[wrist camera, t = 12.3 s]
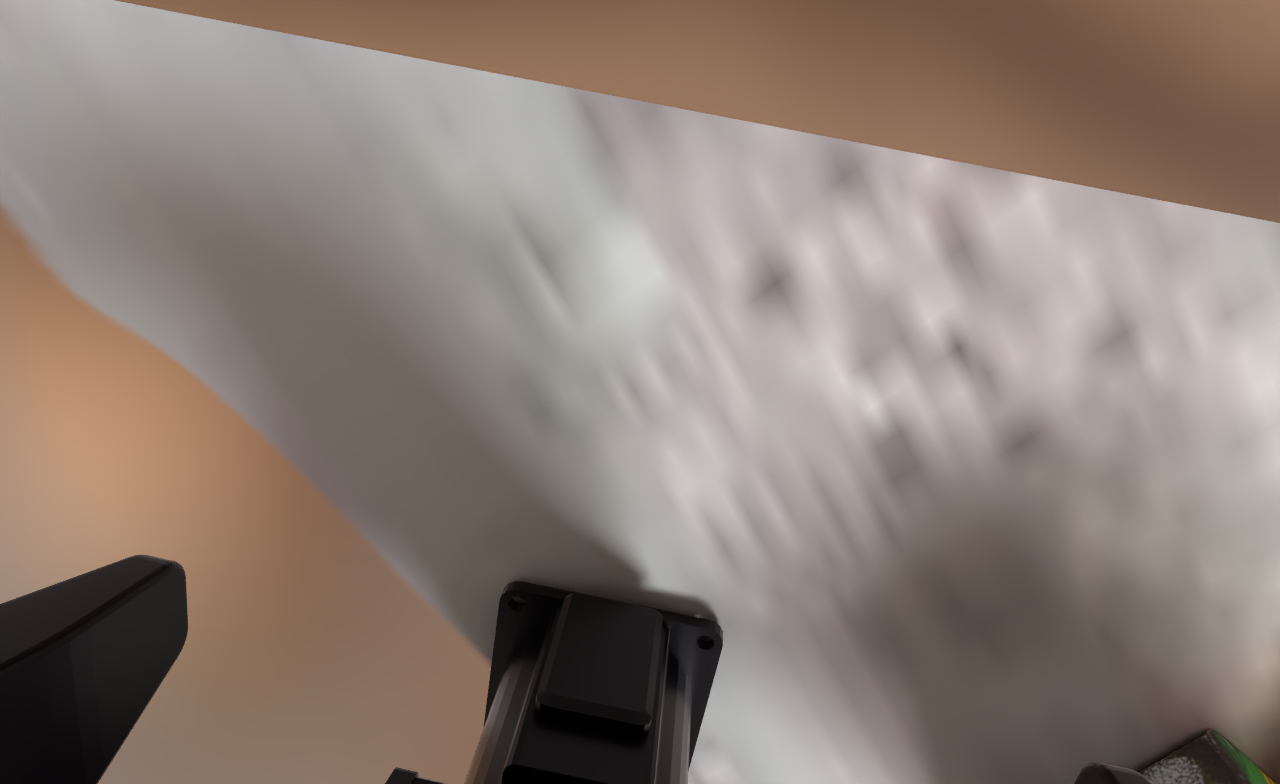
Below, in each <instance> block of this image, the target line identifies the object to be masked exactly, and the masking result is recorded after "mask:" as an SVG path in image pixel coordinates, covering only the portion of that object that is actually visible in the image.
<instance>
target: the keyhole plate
mask: <svg viewBox="0 0 1280 784" xmlns="http://www.w3.org/2000/svg"><path fill="white" fill-rule="evenodd" d="M116 1H121V2H127V3H132V4H137V5H142V6H148V7H153V8H158V9H163V10H169V11H174V12H179V13H184V14H190V15H195V16H200V17H205V18H210V19H216V20H221V21H226V22H231V23H237V24H242V25H247V26H252V27H258V28H263V29H268V30H273V31H278V32H284V33H289V34H294V35H299V36H305V37H310V38H315V39H320V40H326V41H331V42H336V43H341V44H347V45H352V46H357V47H362V48H367V49H373V50H378V51H383V52H388V53H394V54H399V55H404V56H409V57H415V58H420V59H425V60H430V61H435V62H441V63H446V64H451V65H456V66H462V67H467V68H472V69H477V70H483V71H488V72H493V73H498V74H503V75H509V76H514V77H519V78H524V79H530V80H535V81H540V82H545V83H551V84H556V85H561V86H566V87H572V88H577V89H582V90H587V91H592V92H598V93H603V94H608V95H613V96H619V97H624V98H629V99H634V100H640V101H645V102H650V103H655V104H660V105H666V106H671V107H676V108H681V109H687V110H692V111H697V112H702V113H708V114H713V115H718V116H723V117H729V118H734V119H739V120H744V121H749V122H755V123H760V124H765V125H770V126H776V127H781V128H786V129H791V130H797V131H802V132H807V133H812V134H817V135H823V136H828V137H833V138H838V139H844V140H849V141H854V142H859V143H865V144H870V145H875V146H880V147H886V148H891V149H896V150H901V151H906V152H912V153H917V154H922V155H927V156H933V157H938V158H943V159H948V160H954V161H959V162H964V163H969V164H974V165H980V166H985V167H990V168H995V169H1001V170H1006V171H1011V172H1016V173H1022V174H1027V175H1032V176H1037V177H1043V178H1048V179H1053V180H1058V181H1063V182H1069V183H1074V184H1079V185H1084V186H1090V187H1095V188H1100V189H1105V190H1111V191H1116V192H1121V193H1126V194H1131V195H1137V196H1142V197H1147V198H1152V199H1158V200H1163V201H1168V202H1173V203H1179V204H1184V205H1189V206H1194V207H1200V208H1205V209H1210V210H1215V211H1220V212H1226V213H1231V214H1236V215H1241V216H1247V217H1252V218H1257V219H1262V220H1268V221H1273V222H1278V223H1280V0H116Z"/></svg>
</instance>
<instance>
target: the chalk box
mask: <svg viewBox="0 0 1280 784" xmlns="http://www.w3.org/2000/svg"><path fill="white" fill-rule="evenodd" d="M1138 773H1140V774H1141V775H1142V776H1144V777H1145V778H1146V779H1147V780H1148V781H1149V782H1150V783H1152V784H1276V783H1275V782H1273V781H1272V780H1271V779H1270V778H1269V777H1268V776H1266V775H1265V774H1264V773H1263V772H1262V771H1261V770H1260V769H1259V768H1258V767H1257V766H1256V765H1255V764H1253V763H1252V762H1251V761H1250V760H1249V759H1248V758H1247V757H1246V756H1245V755H1243V754H1242V753H1241V752H1240V751H1239V750H1238V749H1237V748H1236V747H1235V746H1233V745H1232V744H1231V743H1230V742H1229V741H1228V740H1226V739H1225V738H1224V737H1223V736H1221V735H1220V734H1218V733H1217V732H1215V731H1213V730H1208V731H1207V732H1206V733H1205V734H1204V735H1203V736H1201V737H1198V738H1197V739H1196V740H1194V741H1193V742H1192V743H1190V744H1187V745H1185V746H1184V747H1183V748H1182V749H1179V750H1176V751H1174V752H1173V753H1171V754H1170V755H1169V756H1167V757H1165V758H1163V759H1162V760H1160V761H1158V762H1155V763H1153V764H1152V765H1151V766H1149V767H1148V768H1145V769H1143V770H1142V771H1140V772H1138Z"/></svg>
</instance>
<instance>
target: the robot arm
mask: <svg viewBox="0 0 1280 784" xmlns="http://www.w3.org/2000/svg"><path fill="white" fill-rule="evenodd" d="M512 597H519V598H521V599H523V601H524V602H523V603H519V602H517V601H515V600H514V599H513V598H512ZM187 631H188V615H187V594H186V576H185V571H184V569H183V567H182V566H181V565H180V564H179V563H177V562H175V561H171V560H167V559H162V558H158V557H153V556H148V555H135V556H132V557H129V558H126V559H123V560H120V561H118V562H115V563H112V564H109V565H107V566H104V567H101V568H98V569H96V570H93V571H90V572H88V573H85V574H82V575H79V576H76V577H74V578H71V579H68V580H65V581H63V582H60V583H57V584H55V585H52V586H49V587H46V588H44V589H41V590H38V591H35V592H32V593H30V594H27V595H24V596H21V597H19V598H16V599H13V600H10V601H8V602H5V603H2V604H0V784H97V783H98V782H99V780H100V779H101V777H102V776H103V774H104V772H105V771H106V770H107V768H108V766H109V765H110V763H111V762H112V760H113V759H114V757H115V755H116V754H117V752H118V750H119V749H120V747H121V746H122V744H123V743H124V741H125V740H126V738H127V736H128V735H129V733H130V731H131V730H132V728H133V727H134V725H135V724H136V722H137V721H138V719H139V717H140V716H141V714H142V713H143V711H144V709H145V708H146V706H147V705H148V703H149V701H150V700H151V698H152V697H153V695H154V694H155V692H156V691H157V689H158V687H159V686H160V684H161V683H162V681H163V679H164V678H165V676H166V675H167V673H168V671H169V670H170V668H171V667H172V665H173V664H174V662H175V660H176V659H177V657H178V656H179V654H180V652H181V650H182V648H183V646H184V643H185V640H186V637H187ZM701 636H709V637H711V638H712V639H710V640H702V639H700V638H699V637H701ZM722 646H723V631H722V629H721V627H720V626H719V625H718V624H717V623H716V622H713V621H711V620H707V619H702V618H697V617H692V616H688V615H683V614H678V613H673V612H668V611H663V610H658V609H653V608H648V607H644V606H639V605H634V604H629V603H624V602H619V601H614V600H609V599H604V598H599V597H595V596H590V595H585V594H580V593H575V592H570V591H565V590H560V589H555V588H551V587H546V586H541V585H536V584H531V583H526V582H518V581H515V582H512V583H509V584H508V585H507V586H506V587H505V589H504V591H503V593H502V596H501V598H500V602H499V610H498V618H497V626H496V634H495V642H494V649H493V657H492V665H491V673H490V681H489V689H488V697H487V705H486V714H485V721H484V729H483V732H482V734H481V737H480V741H479V743H478V746H477V749H476V751H475V754H474V757H473V760H472V763H471V765H470V768H469V771H468V774H467V777H466V780H465V783H464V784H688V771H689V767H690V763H691V760H692V756H693V752H694V749H695V745H696V741H697V738H698V734H699V730H700V727H701V723H702V719H703V716H704V712H705V708H706V705H707V701H708V698H709V694H710V690H711V687H712V683H713V679H714V676H715V672H716V668H717V665H718V661H719V657H720V654H721V650H722ZM385 784H446V783H442V782H438V781H433V780H429V779H424V778H420V777H418V772H414V771H410V770H405V769H401V768H395V769H394V771H393V772H392V774H391V775H390V777H389V779H388V780H387V782H386V783H385ZM1074 784H1152V783H1150V782H1149V781H1148V780H1147V779H1146V778H1145V777H1144V776H1142V775H1141V774H1140V773H1138V772H1136V771H1135V770H1132V769H1129V768H1125V767H1121V766H1116V765H1111V764H1107V763H1102V762H1091V763H1089V764H1087V765H1086V766H1084V768H1083V769H1082V770H1081V772H1080V774H1079V775H1078V777H1077V779H1076V781H1075V783H1074Z"/></svg>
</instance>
